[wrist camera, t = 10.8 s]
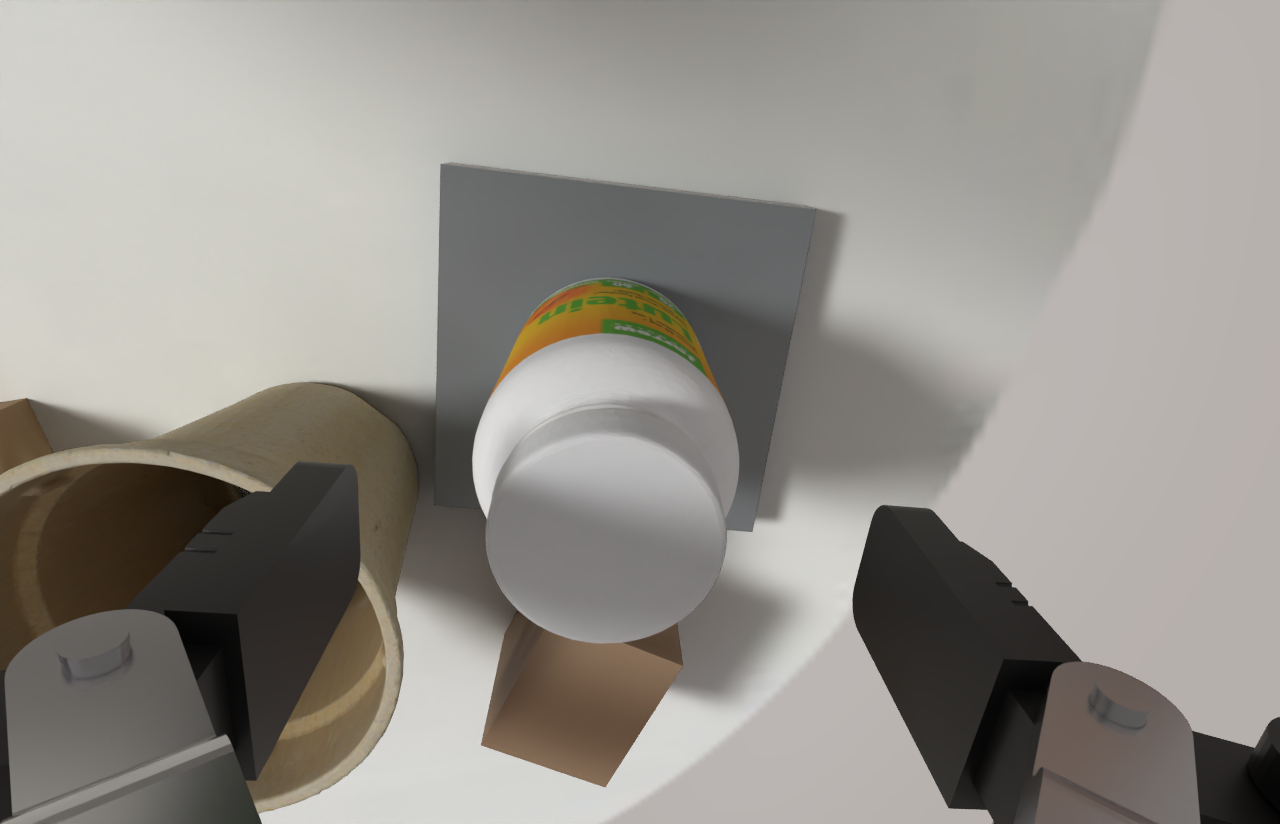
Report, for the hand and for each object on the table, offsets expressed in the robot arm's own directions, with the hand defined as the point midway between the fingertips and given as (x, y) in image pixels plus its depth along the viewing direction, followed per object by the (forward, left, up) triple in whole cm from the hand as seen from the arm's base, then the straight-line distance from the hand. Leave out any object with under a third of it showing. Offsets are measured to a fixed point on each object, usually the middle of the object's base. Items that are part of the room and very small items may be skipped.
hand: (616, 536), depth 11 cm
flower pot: (+5, -9, -12) cm, 15 cm away
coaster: (0, 0, -11) cm, 11 cm away
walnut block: (+9, 0, -11) cm, 15 cm away
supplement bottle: (0, 0, -10) cm, 10 cm away
